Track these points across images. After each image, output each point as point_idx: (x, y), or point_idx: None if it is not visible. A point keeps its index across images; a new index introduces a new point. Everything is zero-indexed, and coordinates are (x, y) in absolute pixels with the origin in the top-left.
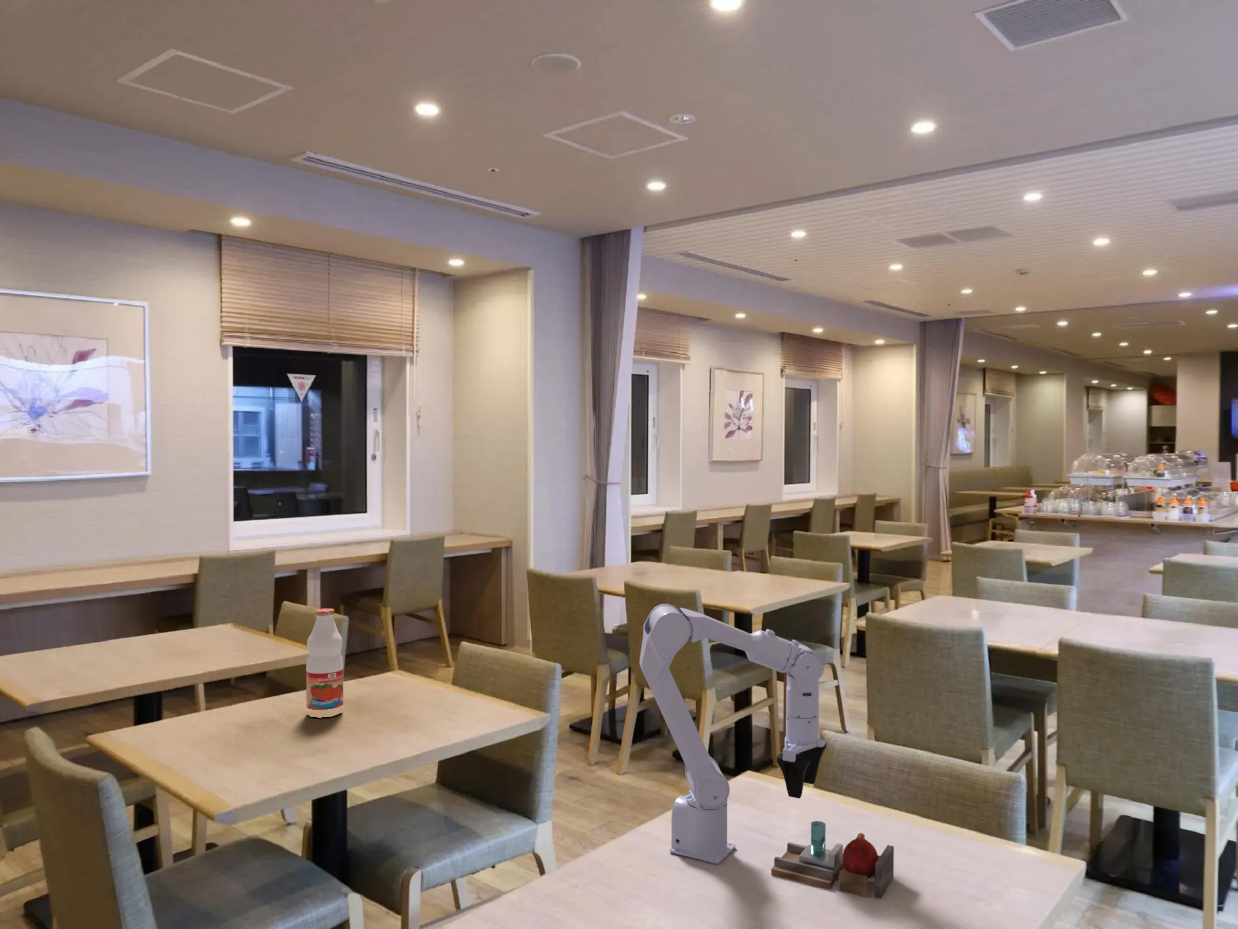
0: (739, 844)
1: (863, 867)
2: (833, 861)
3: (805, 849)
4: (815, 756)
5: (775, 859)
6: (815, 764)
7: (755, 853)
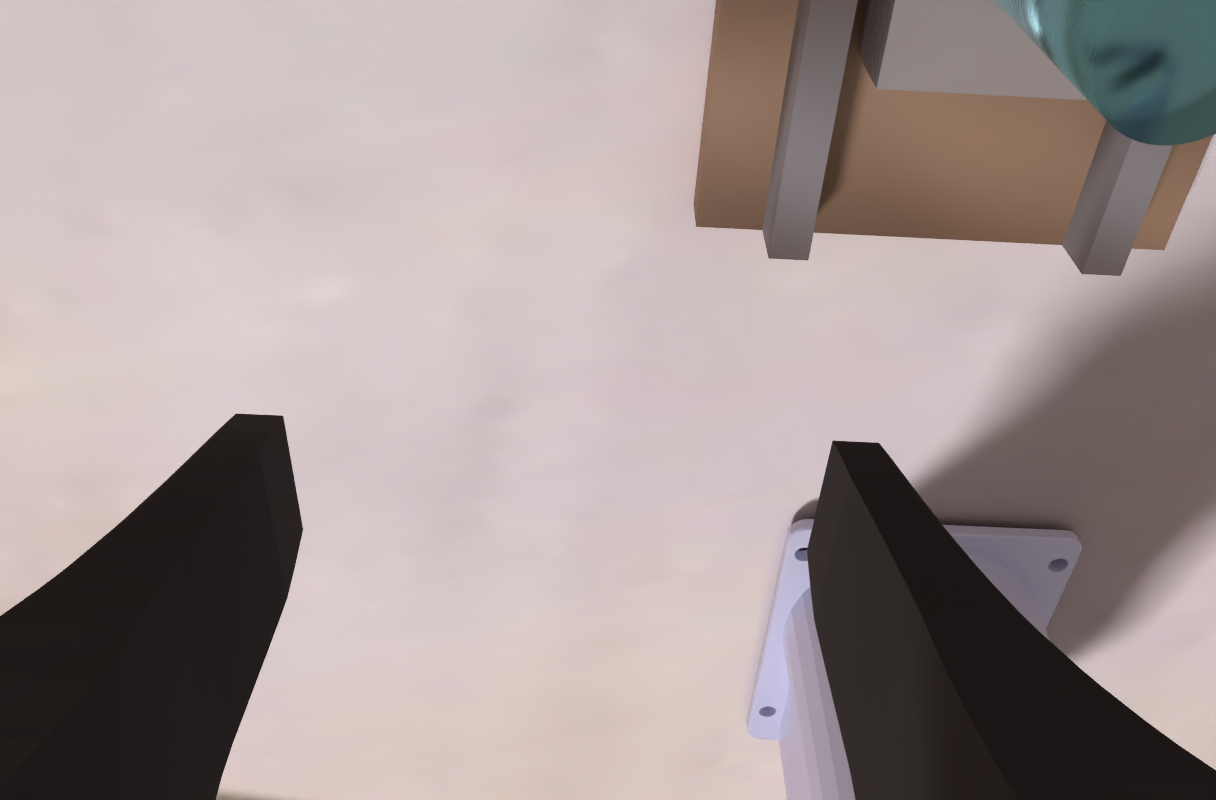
0: (724, 510)
1: None
2: None
3: (992, 86)
4: (103, 758)
5: (1120, 263)
6: (164, 626)
7: (820, 402)
